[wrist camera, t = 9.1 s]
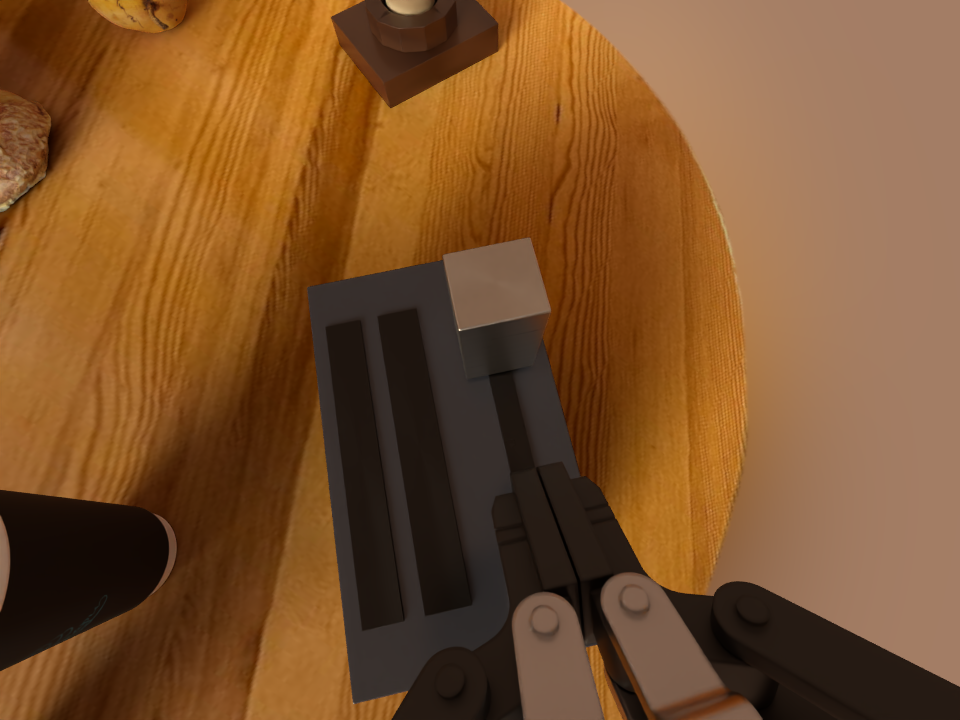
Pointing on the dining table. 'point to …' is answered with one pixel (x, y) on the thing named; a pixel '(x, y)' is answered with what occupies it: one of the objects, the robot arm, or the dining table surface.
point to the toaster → (419, 469)
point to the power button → (409, 6)
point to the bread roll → (21, 146)
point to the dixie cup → (73, 567)
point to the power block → (414, 44)
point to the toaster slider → (497, 306)
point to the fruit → (142, 13)
